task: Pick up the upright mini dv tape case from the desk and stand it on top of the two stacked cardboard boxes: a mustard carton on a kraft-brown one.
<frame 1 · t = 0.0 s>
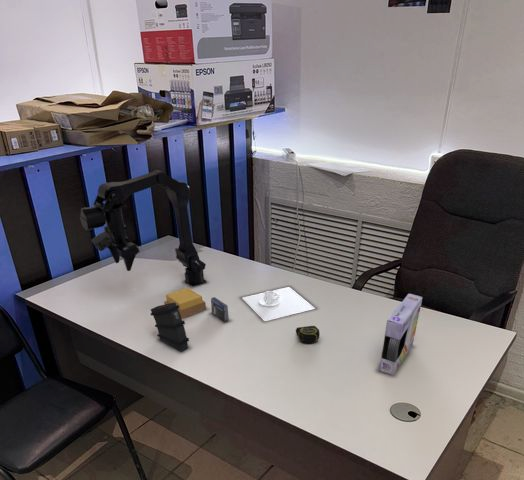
hand: (123, 266, 173), 15 cm above the table, tool pointing down, fingers open, 9 cm apart
white piece: (277, 303, 180), on the table
cake pan box: (396, 360, 147), on the table
mini dv tape: (220, 317, 171), on the table
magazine: (171, 343, 158), on the table
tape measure: (306, 339, 158), on the table
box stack: (185, 309, 177), on the table
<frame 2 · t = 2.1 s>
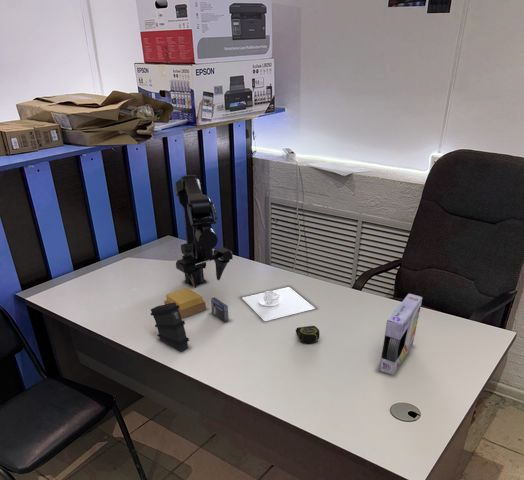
hand: (206, 283, 165), 12 cm above the table, tool pointing down, fingers open, 9 cm apart
nothing on the table moved.
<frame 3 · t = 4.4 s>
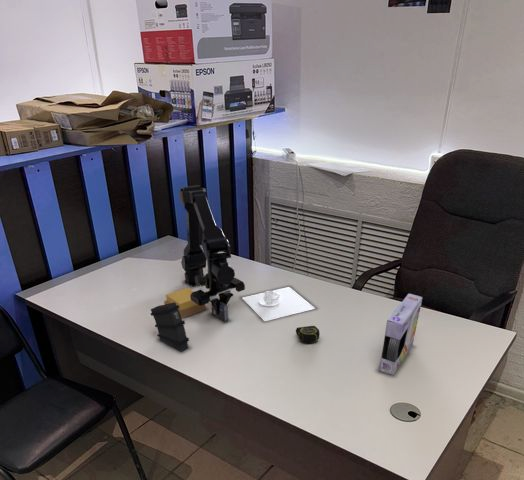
hand: (219, 313, 170), 2 cm above the table, tool pointing down, fingers closed on mini dv tape, 1 cm apart
mini dv tape: (220, 317, 171), on the table, touching gripper
everything else where it was.
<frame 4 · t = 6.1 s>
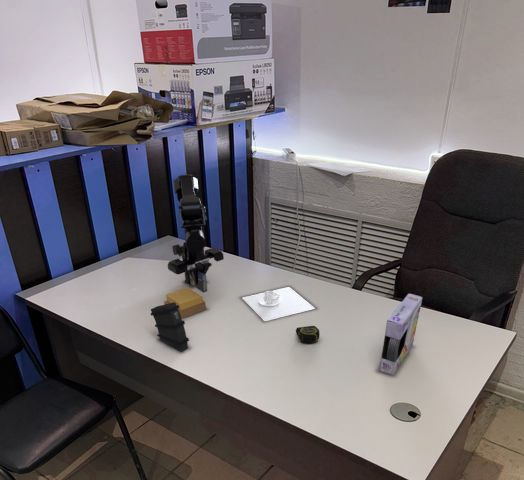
hand: (198, 283, 168), 11 cm above the table, tool pointing down, fingers closed on mini dv tape
mini dv tape: (198, 288, 169), point 9 cm above the table, touching gripper
everything else where it was.
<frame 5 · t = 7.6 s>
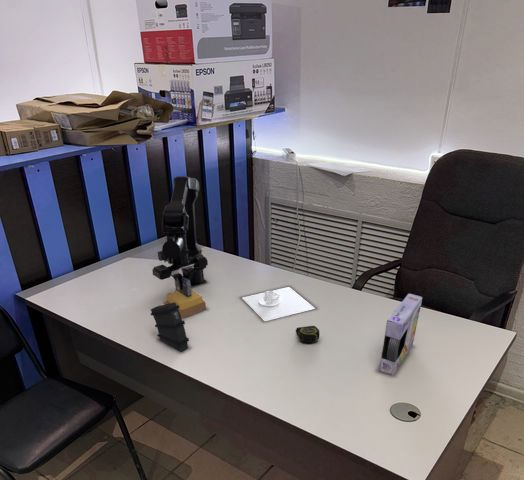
hand: (183, 289, 172), 8 cm above the table, tool pointing down, fingers closed on mini dv tape, 1 cm apart
mini dv tape: (183, 293, 173), point 6 cm above the table, touching gripper
everything else where it was.
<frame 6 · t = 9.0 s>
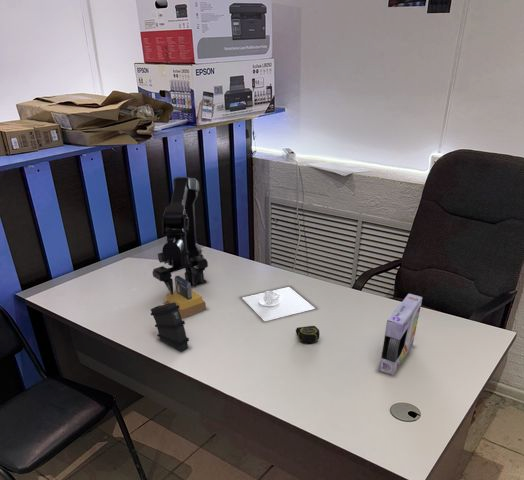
hand: (183, 290, 173), 7 cm above the table, tool pointing down, fingers open, 9 cm apart
mini dv tape: (184, 295, 174), point 5 cm above the table, touching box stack
everything else where it was.
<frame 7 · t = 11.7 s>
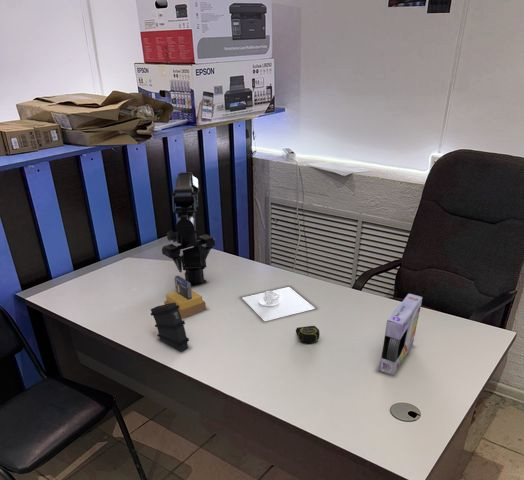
hand: (191, 268, 177), 12 cm above the table, tool pointing down, fingers open, 9 cm apart
nothing on the table moved.
at the end: mini dv tape inside the target area on the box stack (0.1 cm from its centre), point 5.3 cm above the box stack's base; the gripper is holding nothing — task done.
